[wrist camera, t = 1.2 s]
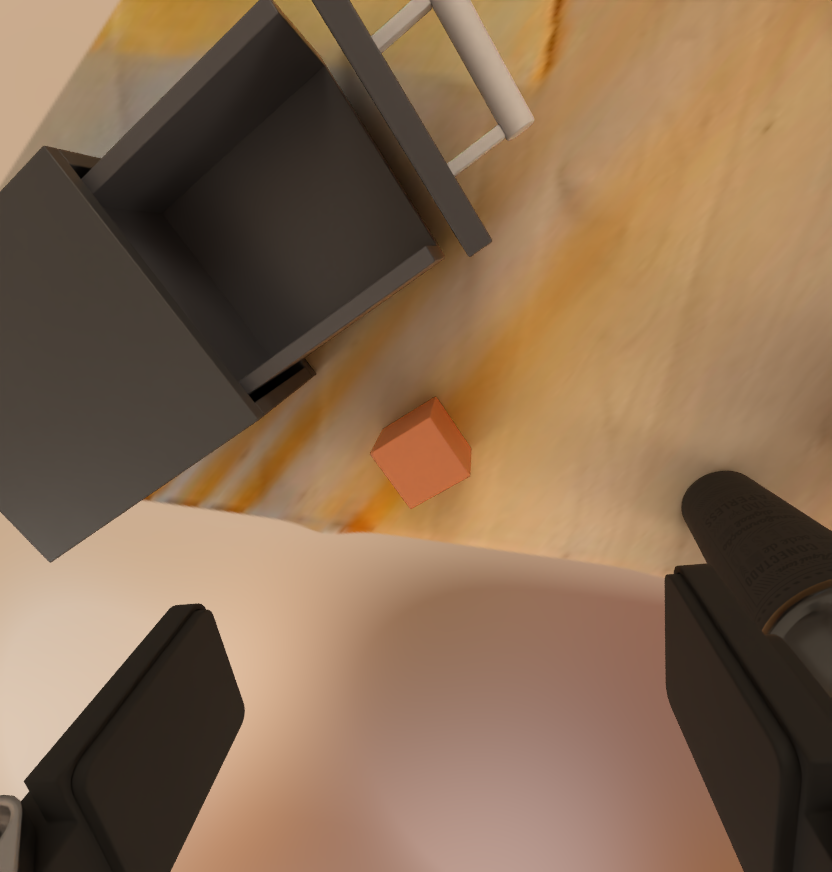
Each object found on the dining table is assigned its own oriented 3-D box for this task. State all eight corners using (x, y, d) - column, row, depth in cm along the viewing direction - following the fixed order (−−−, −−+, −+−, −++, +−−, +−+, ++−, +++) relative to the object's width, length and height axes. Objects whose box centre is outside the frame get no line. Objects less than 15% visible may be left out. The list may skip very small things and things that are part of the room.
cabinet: (169, 173, 31) (43, 144, 22) (316, 374, 34) (258, 420, 25) (5, 327, 36) (-154, 354, 27) (148, 490, 39) (49, 563, 30)
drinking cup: (691, 434, 33) (969, 686, 14) (806, 471, 33) (1240, 772, 14) (638, 533, 35) (812, 852, 17) (745, 566, 35) (1037, 924, 17)
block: (435, 395, 34) (429, 416, 30) (472, 448, 35) (470, 476, 31) (382, 429, 35) (369, 453, 31) (418, 479, 36) (410, 509, 32)
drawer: (419, -54, 25) (394, -175, 18) (556, 195, 28) (582, 178, 21) (147, 200, 31) (43, 186, 23) (285, 384, 34) (232, 422, 26)
